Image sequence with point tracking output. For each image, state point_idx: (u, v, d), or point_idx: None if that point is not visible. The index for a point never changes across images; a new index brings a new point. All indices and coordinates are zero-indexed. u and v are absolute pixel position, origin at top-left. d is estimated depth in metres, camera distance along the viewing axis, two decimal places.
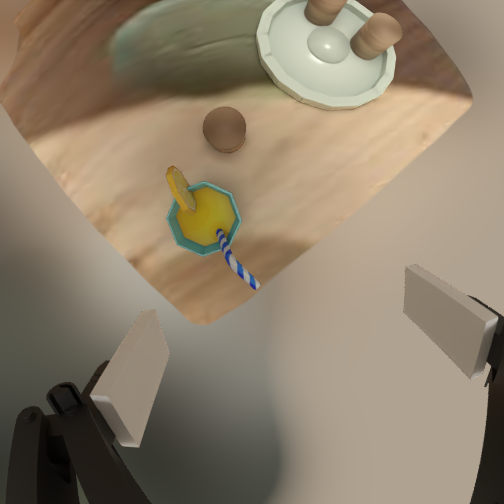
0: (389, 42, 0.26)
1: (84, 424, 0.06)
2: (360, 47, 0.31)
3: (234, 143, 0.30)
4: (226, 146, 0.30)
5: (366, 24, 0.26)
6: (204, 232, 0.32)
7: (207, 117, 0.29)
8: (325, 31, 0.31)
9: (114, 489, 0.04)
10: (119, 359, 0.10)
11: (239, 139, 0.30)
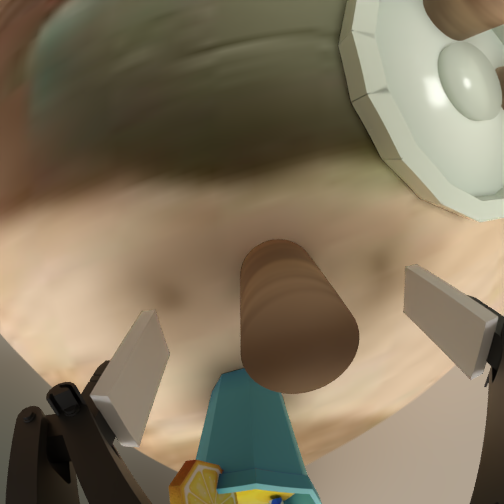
0: None
1: (84, 424, 0.06)
2: None
3: (323, 383, 0.11)
4: (303, 390, 0.11)
5: None
6: (248, 498, 0.13)
7: (254, 326, 0.10)
8: (468, 53, 0.12)
9: (114, 489, 0.04)
10: (119, 359, 0.10)
11: (337, 374, 0.11)
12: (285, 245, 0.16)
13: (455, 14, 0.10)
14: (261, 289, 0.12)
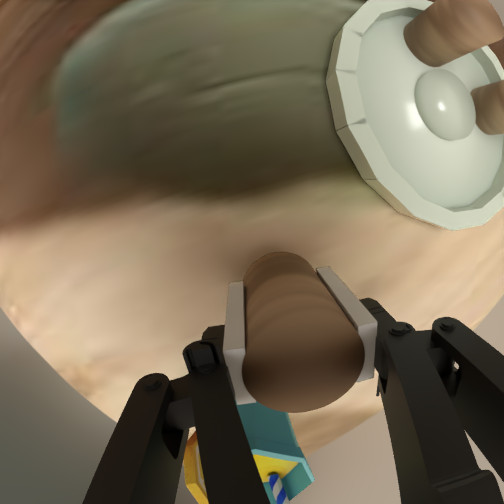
0: None
1: (217, 383, 0.08)
2: (493, 119, 0.16)
3: (327, 402, 0.11)
4: (306, 409, 0.11)
5: None
6: None
7: (255, 346, 0.10)
8: (443, 79, 0.16)
9: (234, 453, 0.06)
10: (235, 319, 0.12)
11: (341, 392, 0.10)
12: (288, 258, 0.16)
13: (430, 45, 0.14)
14: (263, 306, 0.11)
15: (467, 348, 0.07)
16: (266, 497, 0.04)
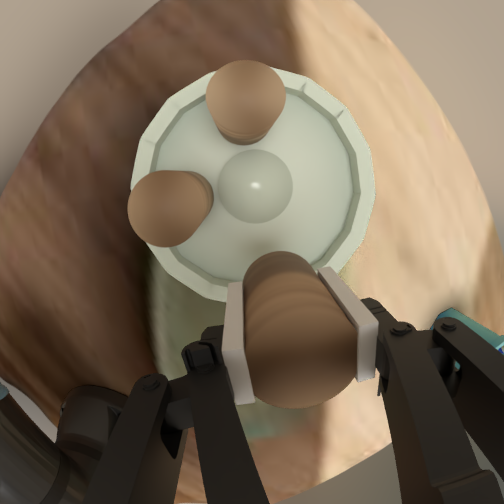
0: (284, 93, 0.16)
1: (216, 384, 0.08)
2: (264, 135, 0.21)
3: (325, 398, 0.11)
4: (304, 405, 0.11)
5: (238, 134, 0.17)
6: None
7: (255, 342, 0.10)
8: (231, 193, 0.23)
9: (232, 453, 0.06)
10: (234, 320, 0.12)
11: (339, 389, 0.11)
12: (287, 257, 0.16)
13: None
14: (263, 303, 0.12)
15: (468, 348, 0.07)
16: (265, 497, 0.04)
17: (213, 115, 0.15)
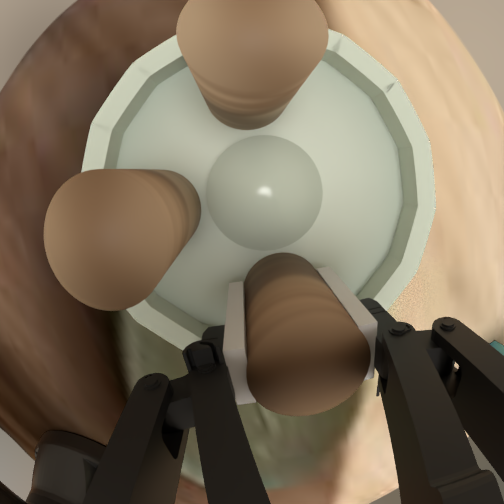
0: (324, 29, 0.07)
1: (217, 383, 0.08)
2: (280, 111, 0.13)
3: (332, 405, 0.10)
4: (310, 413, 0.10)
5: (238, 100, 0.09)
6: None
7: (261, 350, 0.09)
8: (227, 204, 0.15)
9: (234, 453, 0.06)
10: (235, 319, 0.12)
11: (346, 395, 0.10)
12: (291, 259, 0.16)
13: None
14: (268, 308, 0.11)
15: (467, 348, 0.07)
16: (266, 497, 0.04)
17: (189, 60, 0.07)
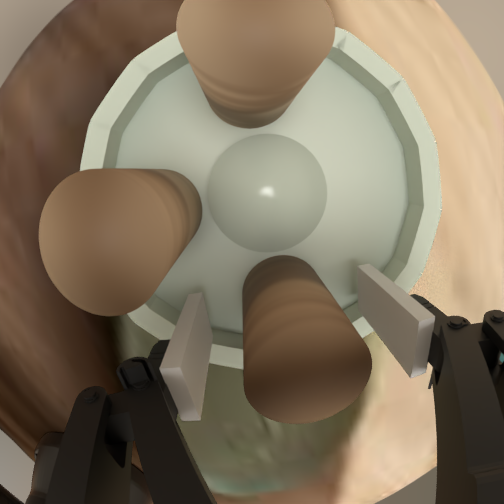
0: (330, 23, 0.07)
1: (153, 400, 0.08)
2: (284, 109, 0.12)
3: (331, 413, 0.10)
4: (309, 420, 0.10)
5: (241, 96, 0.08)
6: None
7: (259, 357, 0.09)
8: (229, 204, 0.15)
9: (175, 468, 0.05)
10: (181, 335, 0.11)
11: (346, 403, 0.10)
12: (291, 262, 0.15)
13: None
14: (266, 314, 0.11)
15: None
16: None
17: (190, 55, 0.07)
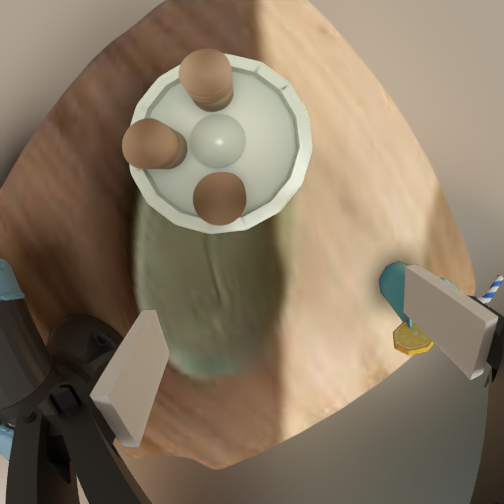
0: None
1: (84, 424, 0.06)
2: (224, 102, 0.28)
3: (231, 221, 0.25)
4: (221, 224, 0.25)
5: (200, 97, 0.24)
6: None
7: (198, 185, 0.24)
8: (199, 145, 0.30)
9: (114, 489, 0.04)
10: (119, 359, 0.10)
11: (237, 216, 0.25)
12: (227, 172, 0.31)
13: (176, 162, 0.29)
14: None
15: None
16: None
17: (182, 83, 0.22)
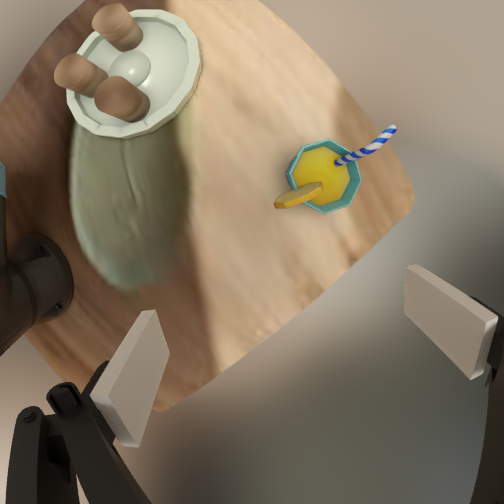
0: (126, 12, 0.24)
1: (84, 424, 0.06)
2: (131, 40, 0.29)
3: (119, 107, 0.27)
4: (112, 111, 0.27)
5: (107, 35, 0.25)
6: (337, 178, 0.30)
7: (98, 87, 0.26)
8: (115, 74, 0.32)
9: (114, 489, 0.04)
10: (119, 359, 0.10)
11: (123, 103, 0.27)
12: None
13: (96, 86, 0.31)
14: None
15: None
16: None
17: (94, 28, 0.24)
